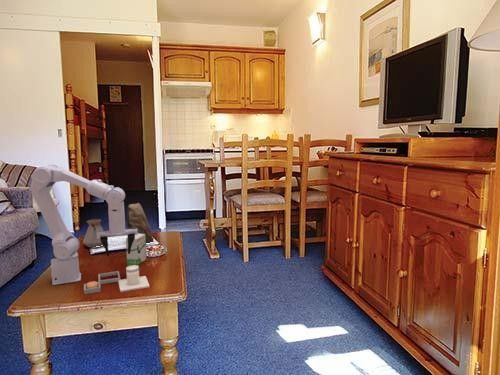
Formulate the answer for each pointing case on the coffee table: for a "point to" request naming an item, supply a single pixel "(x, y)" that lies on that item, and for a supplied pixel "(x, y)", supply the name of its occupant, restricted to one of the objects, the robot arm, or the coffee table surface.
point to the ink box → (136, 250)
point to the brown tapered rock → (139, 221)
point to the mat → (125, 287)
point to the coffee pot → (93, 233)
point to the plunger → (92, 284)
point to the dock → (102, 282)
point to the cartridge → (132, 274)
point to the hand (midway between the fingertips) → (118, 254)
